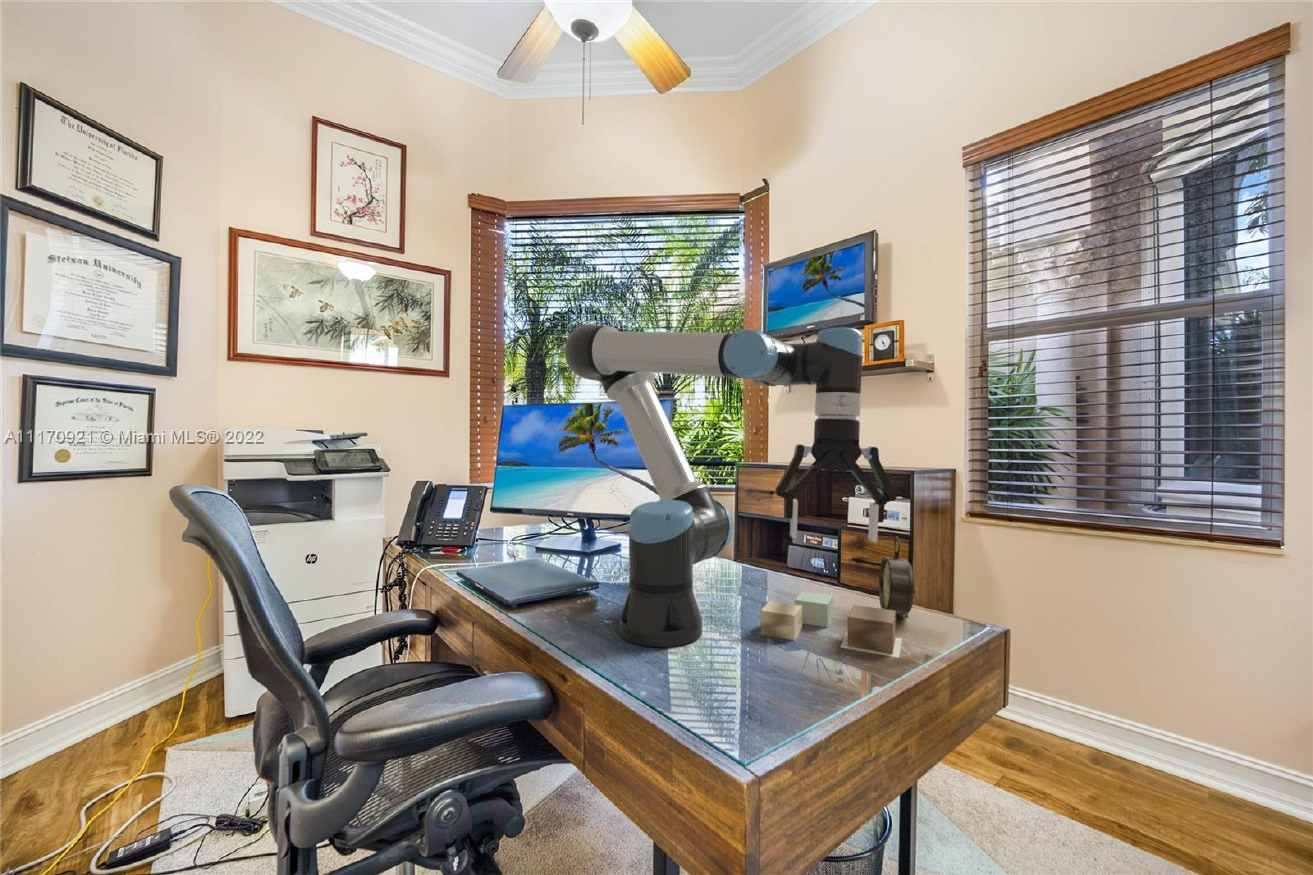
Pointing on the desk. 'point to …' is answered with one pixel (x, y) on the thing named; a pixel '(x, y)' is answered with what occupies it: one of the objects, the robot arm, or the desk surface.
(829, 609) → the sage brick
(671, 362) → the robot arm
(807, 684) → the desk surface
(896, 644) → the mat
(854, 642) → the walnut brick
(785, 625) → the maple brick
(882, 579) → the alarm clock
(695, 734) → the desk surface
